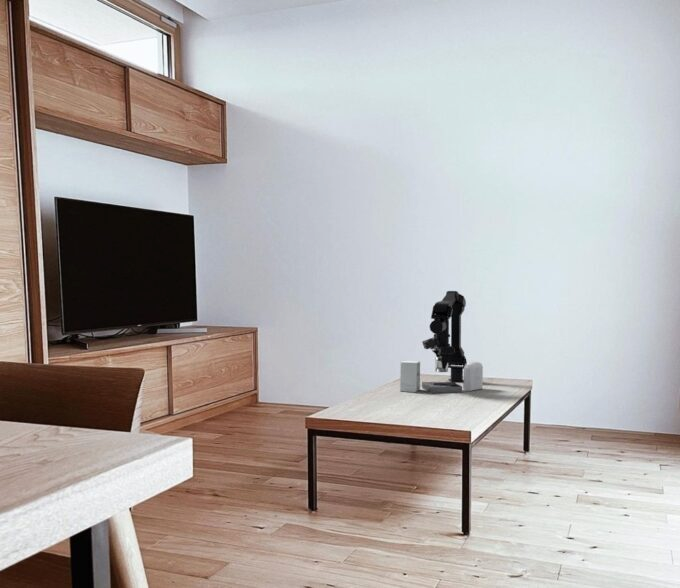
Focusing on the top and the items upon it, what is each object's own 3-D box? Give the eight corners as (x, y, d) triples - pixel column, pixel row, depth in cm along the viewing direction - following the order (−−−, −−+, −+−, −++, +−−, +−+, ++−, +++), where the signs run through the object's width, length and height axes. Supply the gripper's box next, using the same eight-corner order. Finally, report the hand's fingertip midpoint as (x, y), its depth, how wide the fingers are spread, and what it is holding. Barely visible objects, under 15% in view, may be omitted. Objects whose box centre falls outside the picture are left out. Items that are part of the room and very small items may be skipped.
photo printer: (475, 387, 303) (476, 360, 302) (483, 389, 300) (484, 361, 299) (461, 390, 296) (462, 362, 295) (470, 391, 292) (470, 363, 292)
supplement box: (416, 392, 290) (416, 362, 289) (399, 391, 292) (399, 362, 292) (420, 389, 297) (420, 360, 296) (403, 388, 299) (403, 360, 299)
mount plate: (422, 387, 302) (422, 382, 302) (452, 387, 304) (452, 381, 304) (430, 393, 288) (430, 387, 288) (462, 392, 290) (462, 386, 290)
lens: (433, 370, 298) (433, 356, 298) (446, 370, 299) (446, 356, 299) (437, 372, 293) (437, 358, 293) (449, 372, 294) (449, 358, 293)
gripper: (418, 330, 304) (418, 365, 304) (429, 333, 285) (429, 371, 286) (443, 330, 305) (442, 364, 306) (455, 333, 287) (455, 370, 287)
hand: (441, 367), depth 296 cm, fingers closed on lens, 5 cm apart
